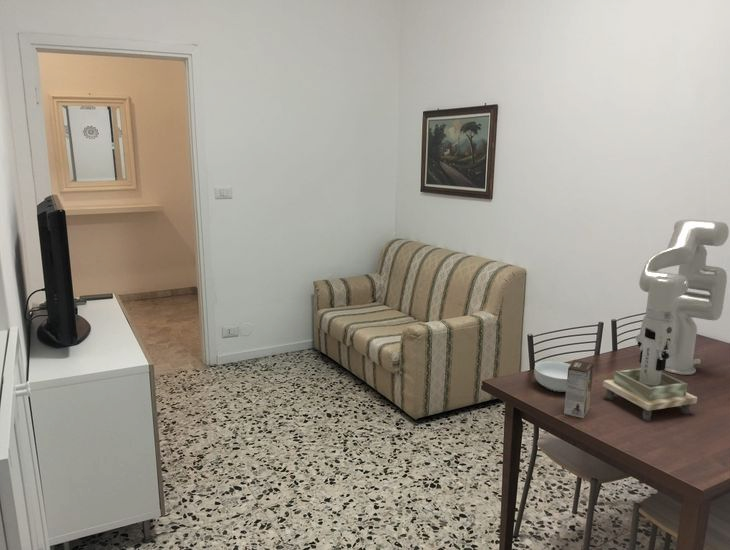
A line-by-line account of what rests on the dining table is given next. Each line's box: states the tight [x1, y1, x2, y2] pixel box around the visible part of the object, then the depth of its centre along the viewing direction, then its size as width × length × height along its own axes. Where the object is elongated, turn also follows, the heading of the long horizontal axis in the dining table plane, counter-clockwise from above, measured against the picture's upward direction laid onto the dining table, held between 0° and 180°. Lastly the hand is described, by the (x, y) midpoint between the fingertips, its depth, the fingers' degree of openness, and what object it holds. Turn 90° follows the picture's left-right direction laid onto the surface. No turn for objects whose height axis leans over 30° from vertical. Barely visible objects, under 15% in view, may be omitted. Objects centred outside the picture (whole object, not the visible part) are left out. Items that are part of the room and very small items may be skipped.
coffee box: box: [563, 359, 595, 419], centre depth 181 cm, size 9×6×16 cm
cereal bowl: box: [533, 360, 571, 393], centre depth 200 cm, size 17×17×7 cm
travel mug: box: [639, 328, 664, 387], centre depth 184 cm, size 6×7×20 cm
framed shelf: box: [602, 367, 698, 422], centre depth 187 cm, size 20×20×10 cm
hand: (651, 365), depth 185 cm, fingers closed on travel mug, 6 cm apart
